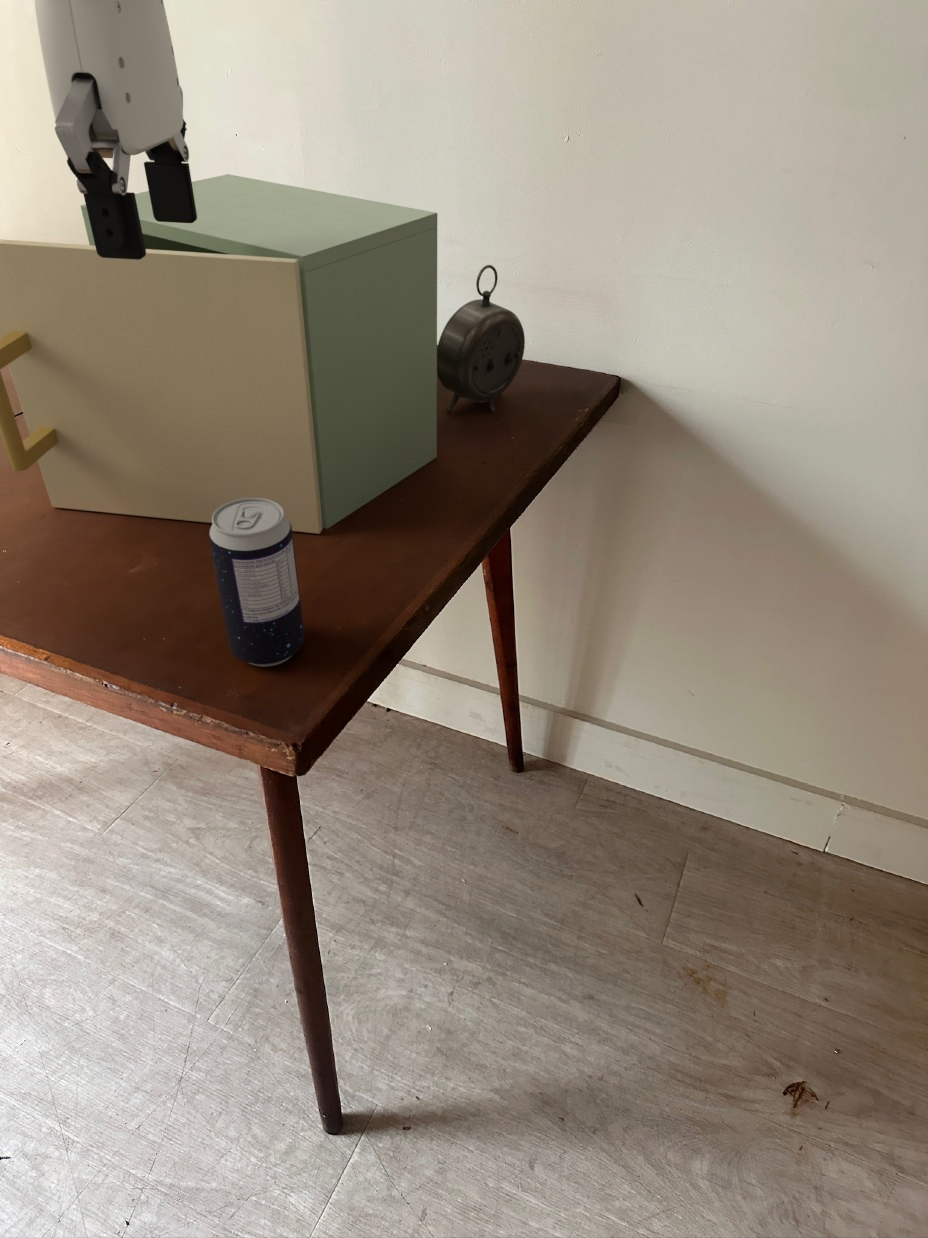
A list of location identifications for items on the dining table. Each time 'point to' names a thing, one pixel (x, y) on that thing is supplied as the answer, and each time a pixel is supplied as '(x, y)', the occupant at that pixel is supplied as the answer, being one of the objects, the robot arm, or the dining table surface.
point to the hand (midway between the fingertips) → (151, 238)
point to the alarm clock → (480, 349)
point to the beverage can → (257, 580)
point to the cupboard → (339, 317)
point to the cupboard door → (158, 380)
